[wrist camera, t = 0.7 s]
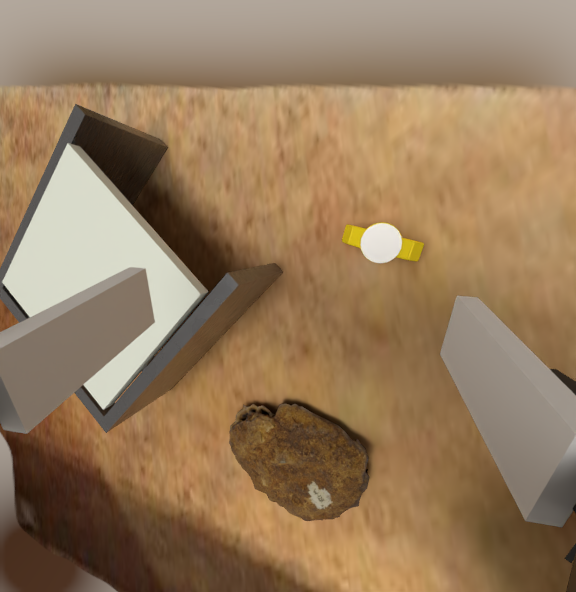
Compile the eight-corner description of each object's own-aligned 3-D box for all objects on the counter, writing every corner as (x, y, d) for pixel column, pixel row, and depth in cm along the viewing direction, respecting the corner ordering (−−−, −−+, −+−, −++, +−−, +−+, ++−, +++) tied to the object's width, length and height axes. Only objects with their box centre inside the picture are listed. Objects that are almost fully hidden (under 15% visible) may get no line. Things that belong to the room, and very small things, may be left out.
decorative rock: (230, 455, 37) (351, 512, 33) (212, 483, 33) (346, 550, 29) (245, 376, 33) (382, 429, 30) (227, 396, 29) (381, 461, 26)
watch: (422, 233, 25) (436, 234, 20) (411, 266, 26) (421, 275, 20) (351, 217, 26) (346, 212, 21) (343, 248, 27) (335, 252, 22)
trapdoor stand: (283, 271, 30) (238, 285, 21) (171, 389, 37) (106, 432, 29) (160, 139, 31) (75, 104, 23) (78, 276, 39) (-9, 287, 31)
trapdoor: (208, 291, 23) (200, 294, 22) (112, 404, 28) (103, 409, 28) (80, 146, 24) (67, 142, 23) (14, 280, 30) (2, 282, 29)
